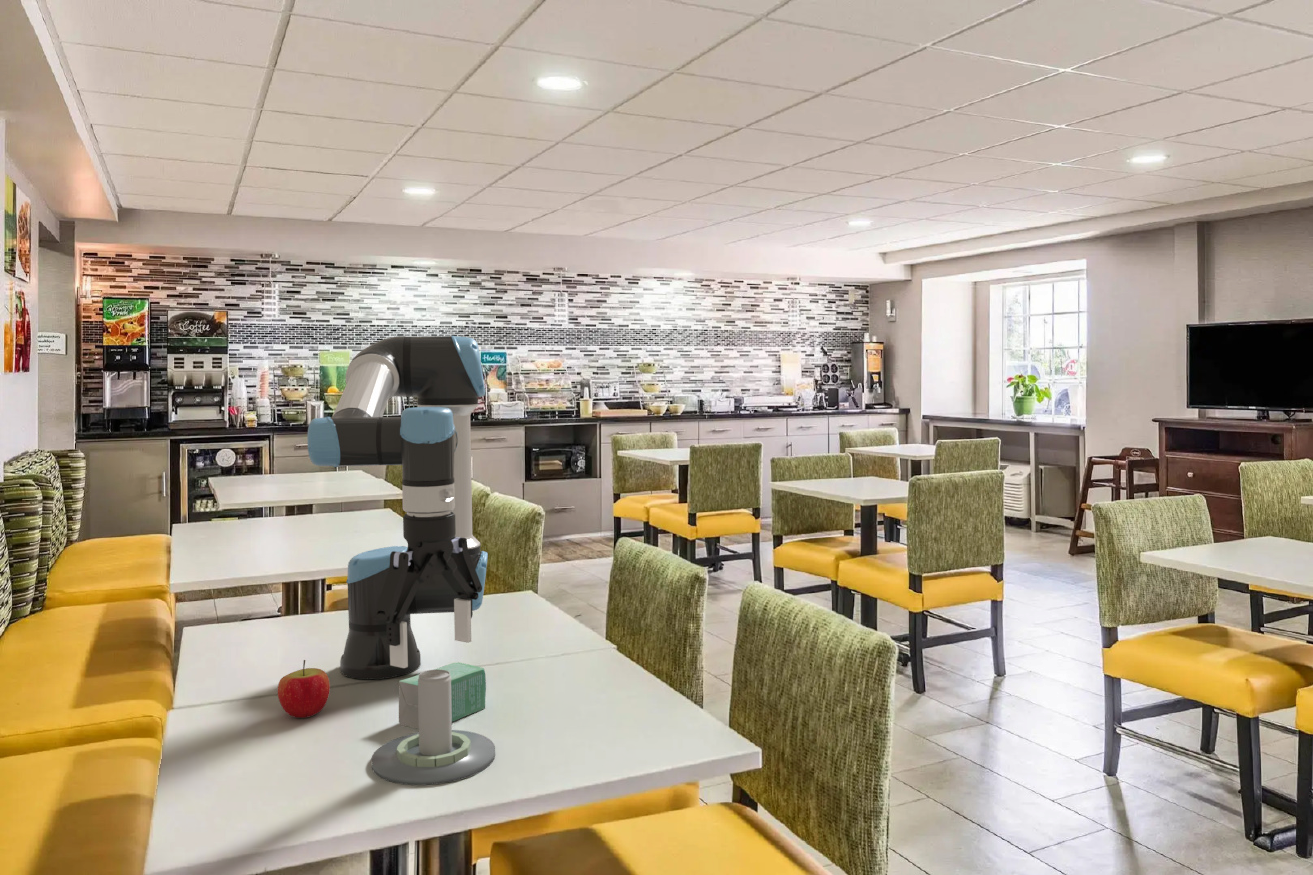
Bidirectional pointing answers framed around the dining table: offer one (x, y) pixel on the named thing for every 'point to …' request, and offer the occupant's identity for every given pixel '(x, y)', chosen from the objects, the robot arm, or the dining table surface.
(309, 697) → the apple
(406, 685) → the box
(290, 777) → the dining table surface
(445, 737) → the beverage can
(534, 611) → the dining table surface
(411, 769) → the tray
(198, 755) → the dining table surface
